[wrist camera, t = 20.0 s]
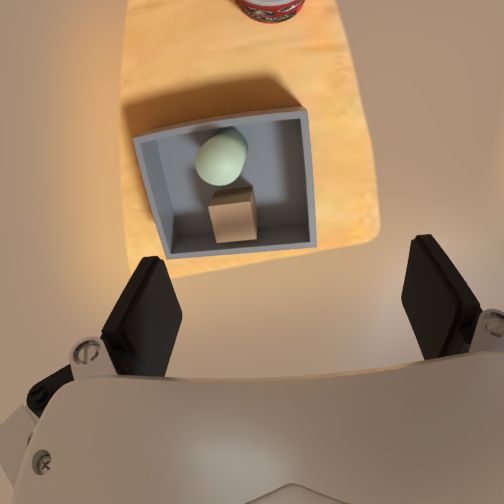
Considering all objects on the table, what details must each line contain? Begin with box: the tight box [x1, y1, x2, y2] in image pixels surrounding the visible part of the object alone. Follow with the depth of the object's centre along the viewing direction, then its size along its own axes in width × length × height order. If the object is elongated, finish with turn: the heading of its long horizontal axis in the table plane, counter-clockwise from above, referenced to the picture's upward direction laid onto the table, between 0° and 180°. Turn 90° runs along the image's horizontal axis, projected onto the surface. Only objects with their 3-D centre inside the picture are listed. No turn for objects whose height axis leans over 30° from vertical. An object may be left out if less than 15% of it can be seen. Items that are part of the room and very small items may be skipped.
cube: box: [208, 187, 258, 243], centre depth 39 cm, size 5×5×5 cm
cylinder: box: [195, 129, 248, 186], centre depth 34 cm, size 5×5×7 cm
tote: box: [132, 106, 317, 260], centre depth 37 cm, size 17×20×6 cm
